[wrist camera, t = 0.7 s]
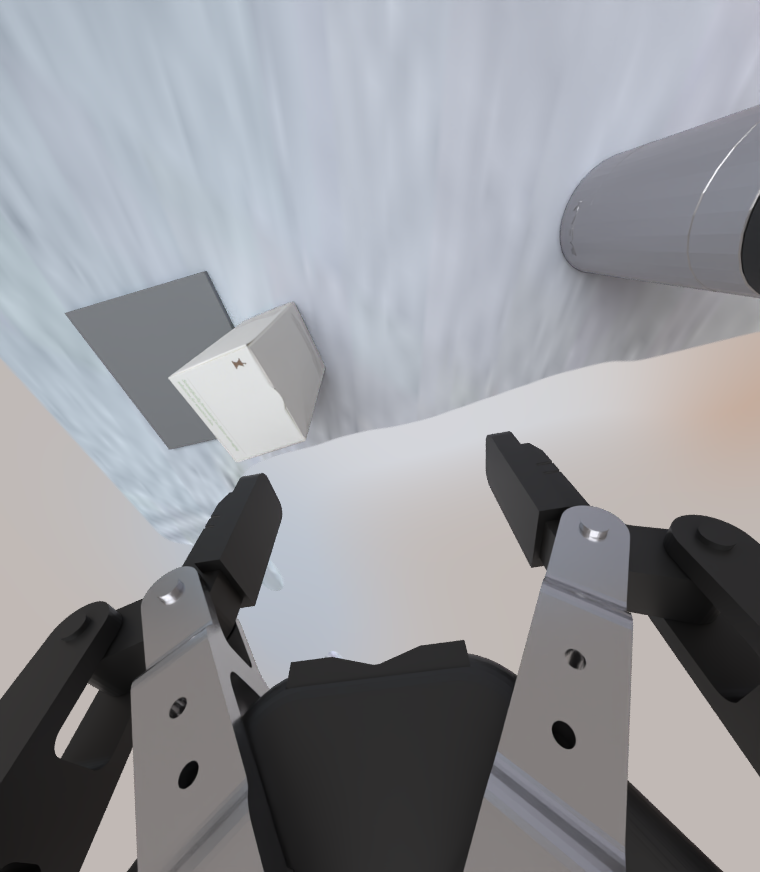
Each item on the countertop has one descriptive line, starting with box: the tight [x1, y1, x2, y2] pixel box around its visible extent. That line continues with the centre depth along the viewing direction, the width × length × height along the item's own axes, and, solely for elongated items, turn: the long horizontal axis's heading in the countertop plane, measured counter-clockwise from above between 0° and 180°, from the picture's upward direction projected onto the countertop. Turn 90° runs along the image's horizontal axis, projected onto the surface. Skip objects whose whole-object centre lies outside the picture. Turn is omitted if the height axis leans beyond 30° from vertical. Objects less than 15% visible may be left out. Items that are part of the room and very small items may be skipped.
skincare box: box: [168, 302, 325, 462], centre depth 28 cm, size 8×7×16 cm
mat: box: [65, 271, 234, 449], centre depth 36 cm, size 16×18×1 cm
